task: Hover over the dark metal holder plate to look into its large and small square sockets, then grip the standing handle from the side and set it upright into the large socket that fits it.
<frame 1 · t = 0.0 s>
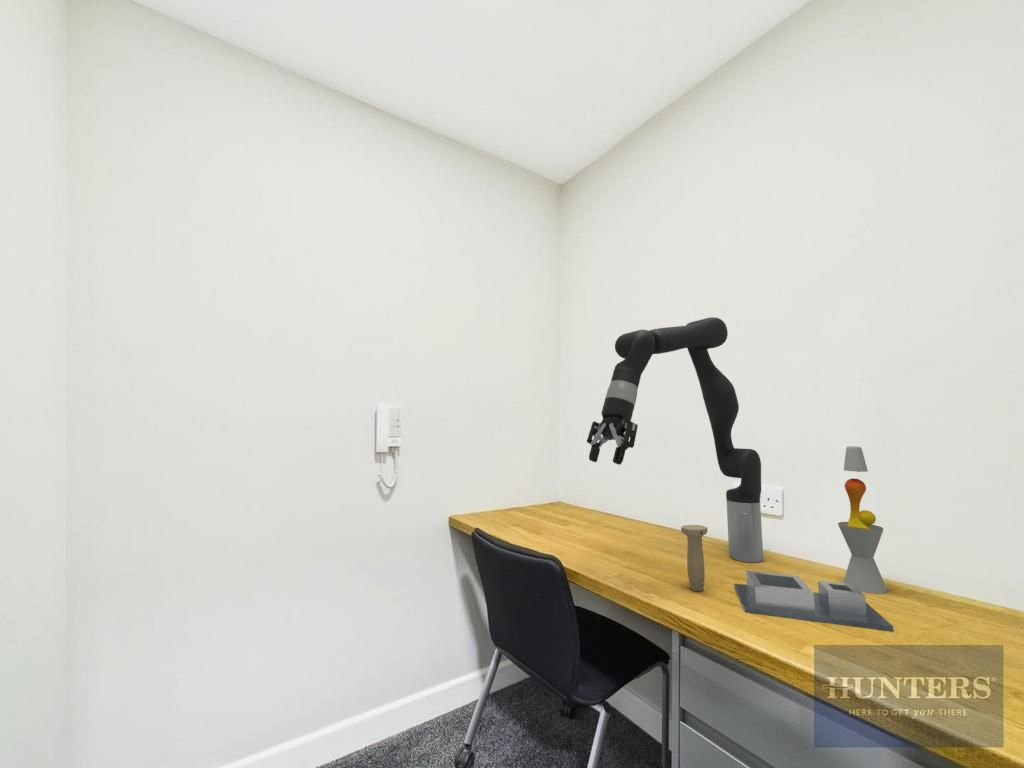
hand: (604, 462, 104), 31 cm above the table, tool tilted 20°, fingers open, 8 cm apart
handle: (696, 590, 105), on the table
socket plate: (804, 606, 95), on the table
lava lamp: (864, 587, 107), on the table
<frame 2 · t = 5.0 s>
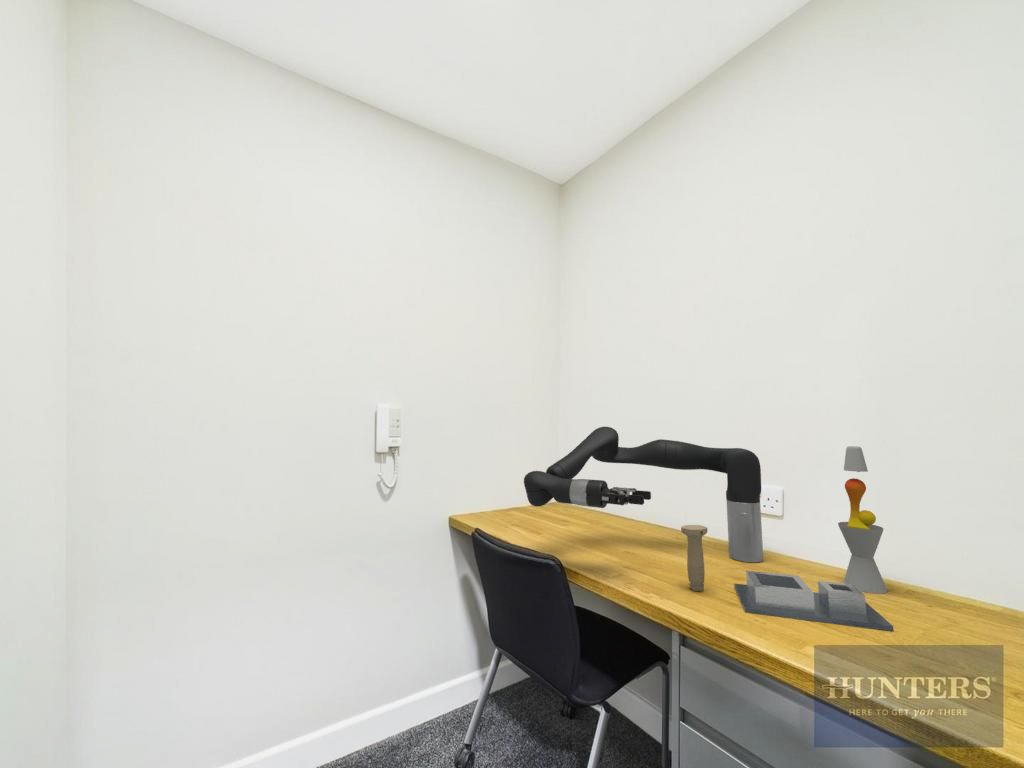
hand: (647, 498, 113), 21 cm above the table, tool horizontal, fingers open, 8 cm apart
nothing on the table moved.
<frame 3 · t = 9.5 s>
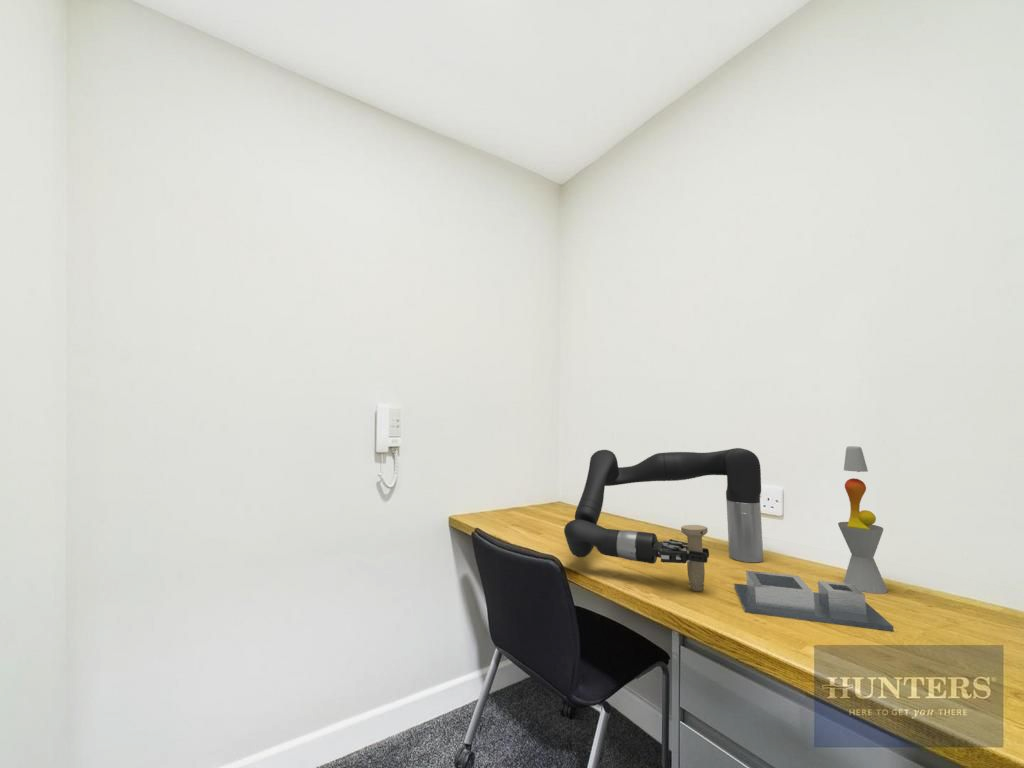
hand: (707, 555, 105), 9 cm above the table, tool horizontal, fingers closed on handle, 3 cm apart
handle: (696, 590, 105), on the table, touching gripper
everything else where it was.
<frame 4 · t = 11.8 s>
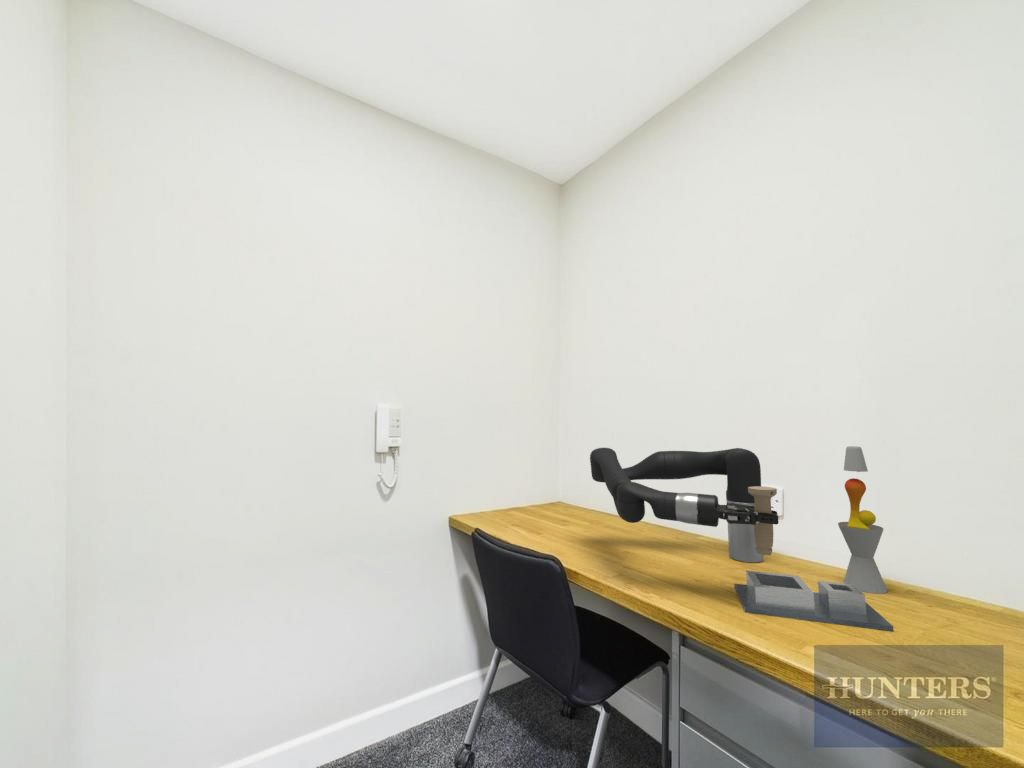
hand: (777, 517, 98), 19 cm above the table, tool horizontal, fingers closed on handle, 3 cm apart
handle: (764, 554, 99), point 11 cm above the table, touching gripper
everything else where it was.
when the fingers open (11 cm above the table, at t = 14.0 s): handle drops 1 cm, resting on socket plate.
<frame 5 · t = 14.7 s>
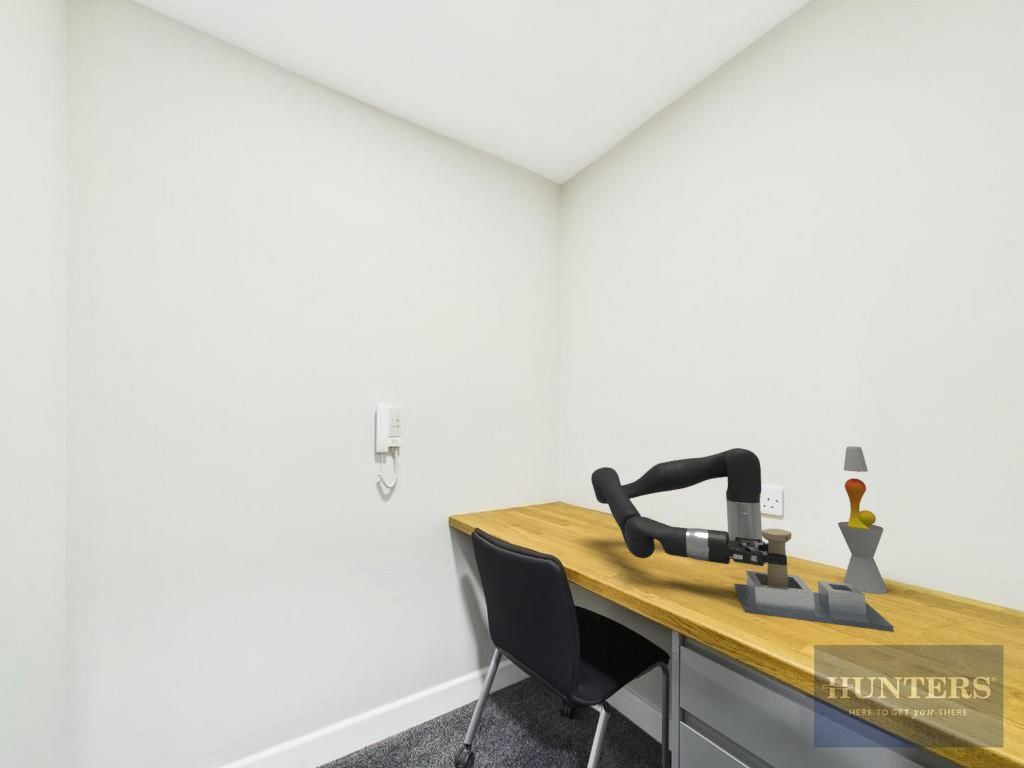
hand: (785, 555, 97), 11 cm above the table, tool horizontal, fingers open, 8 cm apart
handle: (778, 599, 97), point 1 cm above the table, touching socket plate
everything else where it was.
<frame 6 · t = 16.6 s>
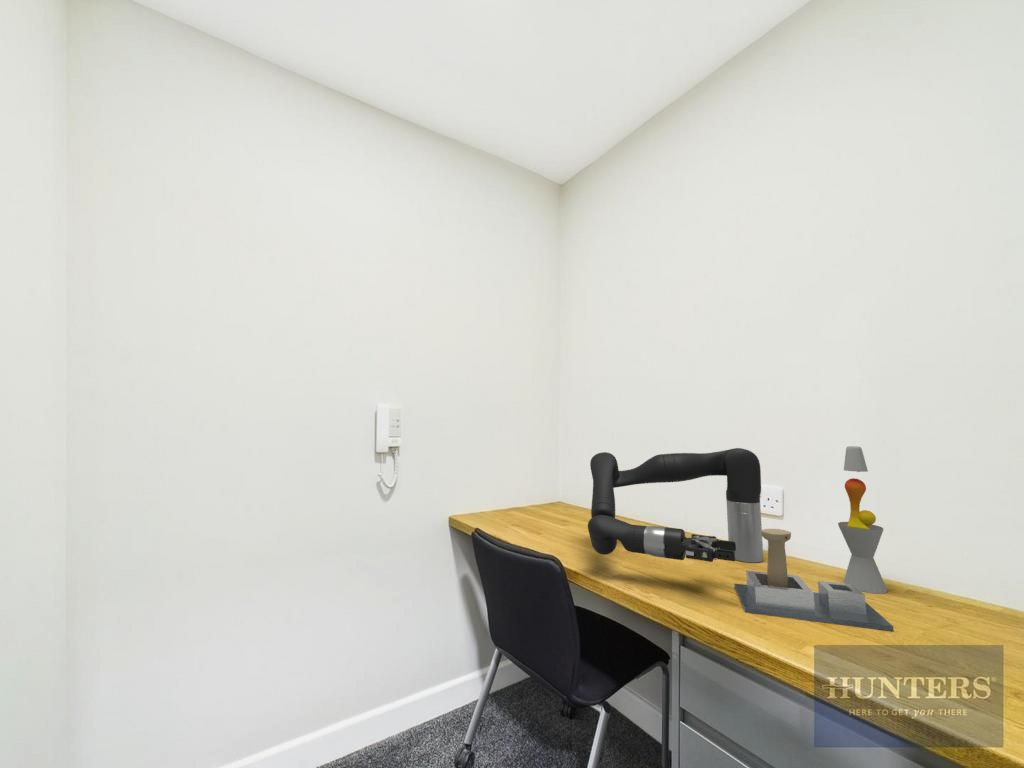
hand: (735, 551, 102), 10 cm above the table, tool horizontal, fingers open, 8 cm apart
nothing on the table moved.
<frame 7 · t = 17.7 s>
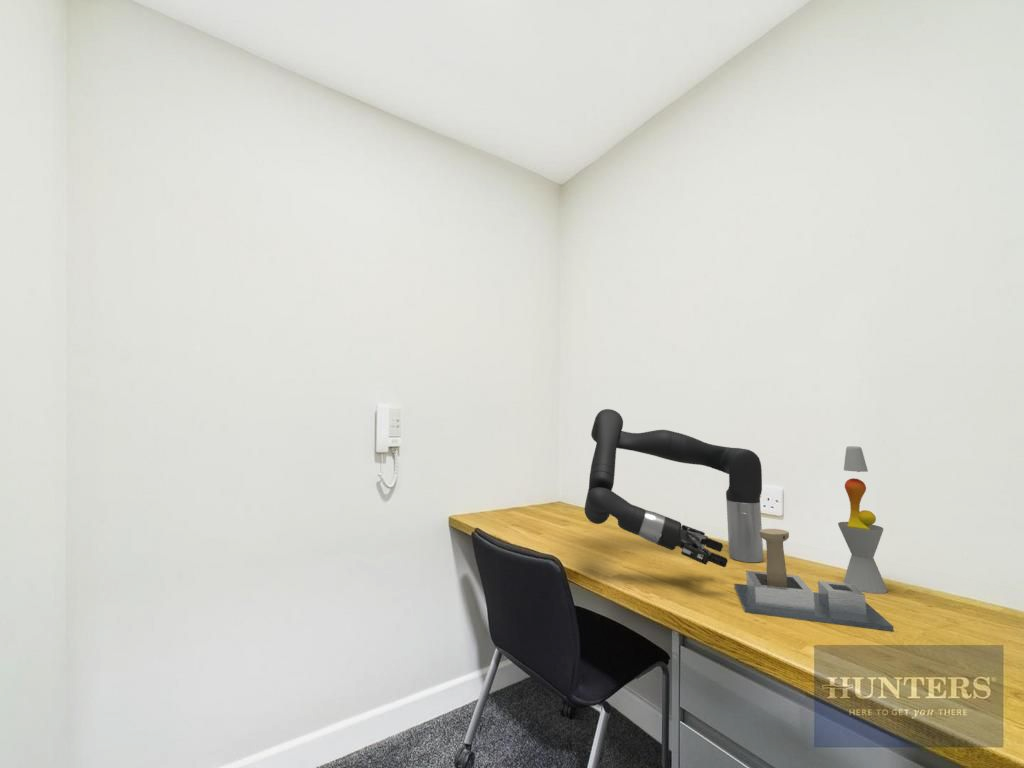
hand: (724, 555, 107), 8 cm above the table, tool tilted 70°, fingers open, 8 cm apart
nothing on the table moved.
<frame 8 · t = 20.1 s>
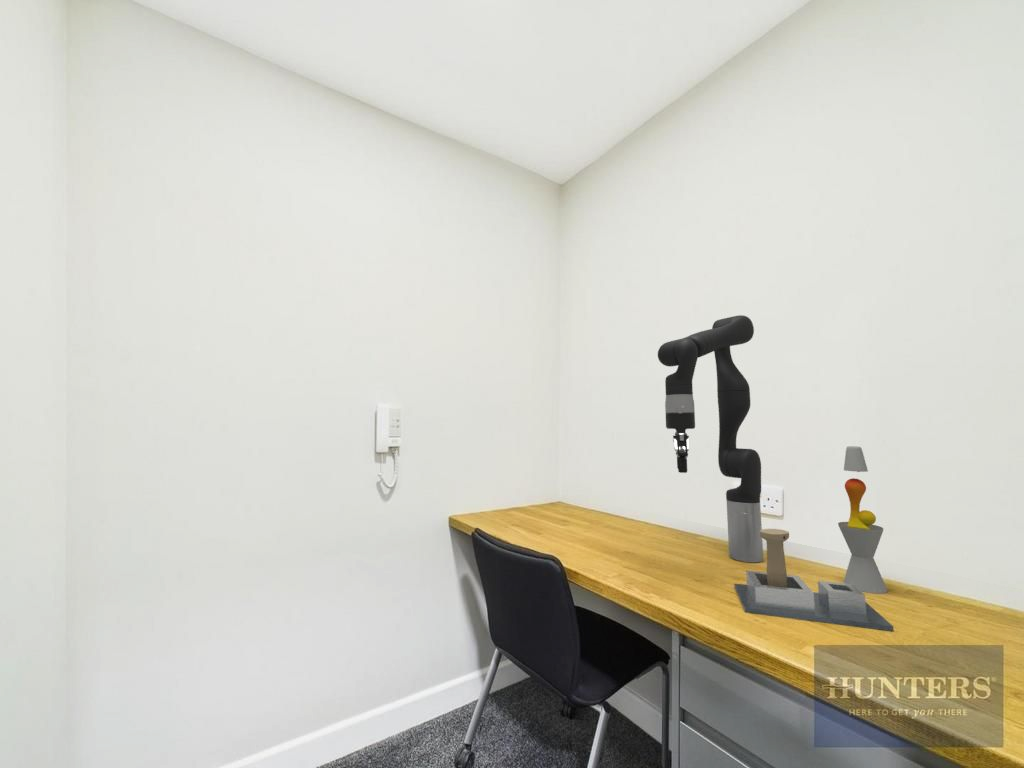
hand: (682, 470, 116), 28 cm above the table, tool pointing down, fingers open, 8 cm apart
nothing on the table moved.
at the end: handle 0.1 cm from the target spot on the socket plate, point 0.8 cm above the socket plate's base; handle tilted 0°; the gripper is holding nothing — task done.
